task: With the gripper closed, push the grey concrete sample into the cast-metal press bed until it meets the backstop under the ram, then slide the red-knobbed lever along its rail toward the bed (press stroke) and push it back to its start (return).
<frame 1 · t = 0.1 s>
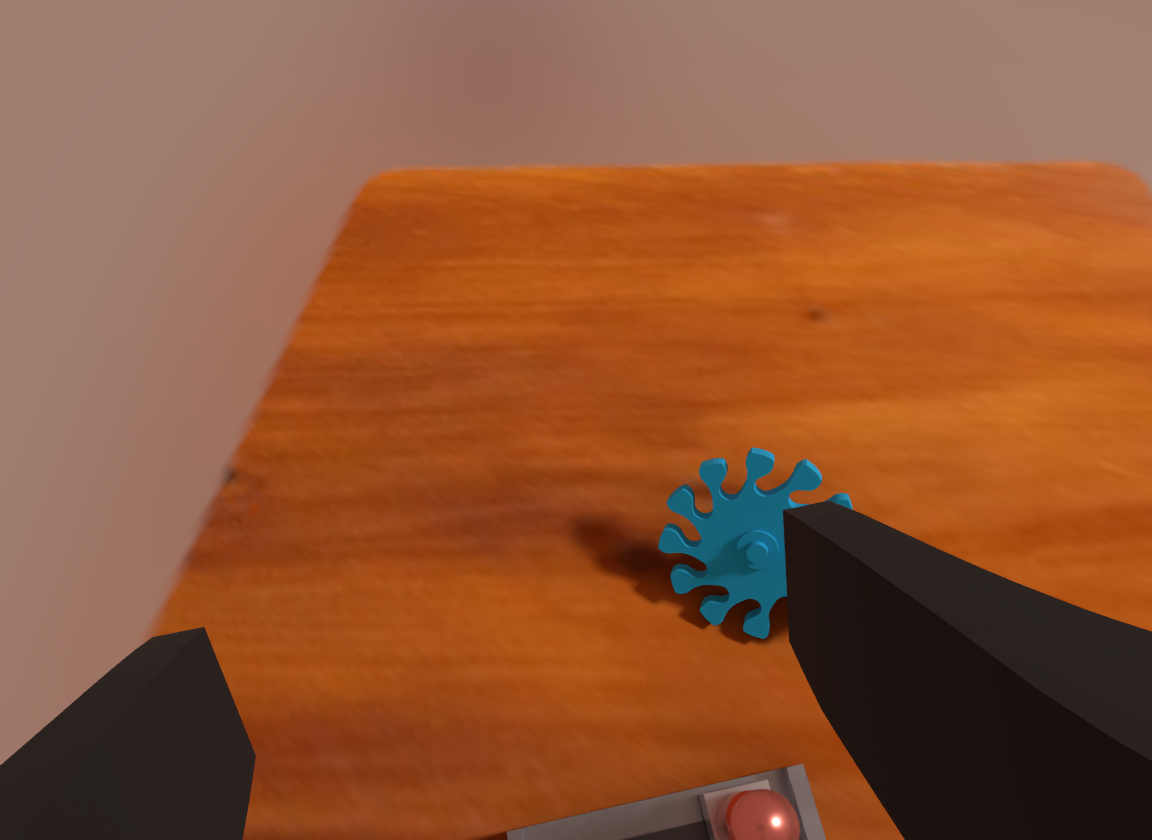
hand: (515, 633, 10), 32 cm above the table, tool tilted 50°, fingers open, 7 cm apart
lever rail: (663, 839, 37), on the table
lever: (751, 824, 34), point 4 cm above the table, slide at 0.0 cm
gear: (753, 570, 43), on the table
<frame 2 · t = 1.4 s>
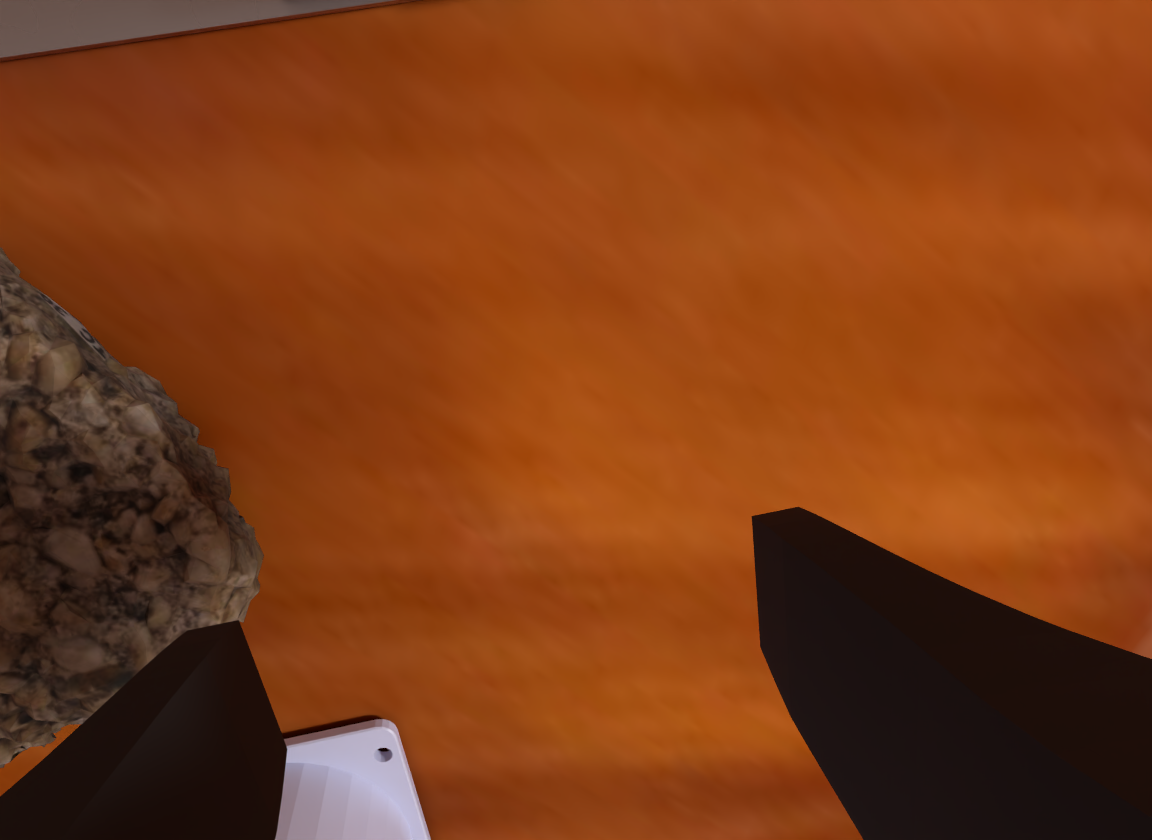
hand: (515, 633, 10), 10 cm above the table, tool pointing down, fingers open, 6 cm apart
concrete sample: (22, 439, 19), on the table
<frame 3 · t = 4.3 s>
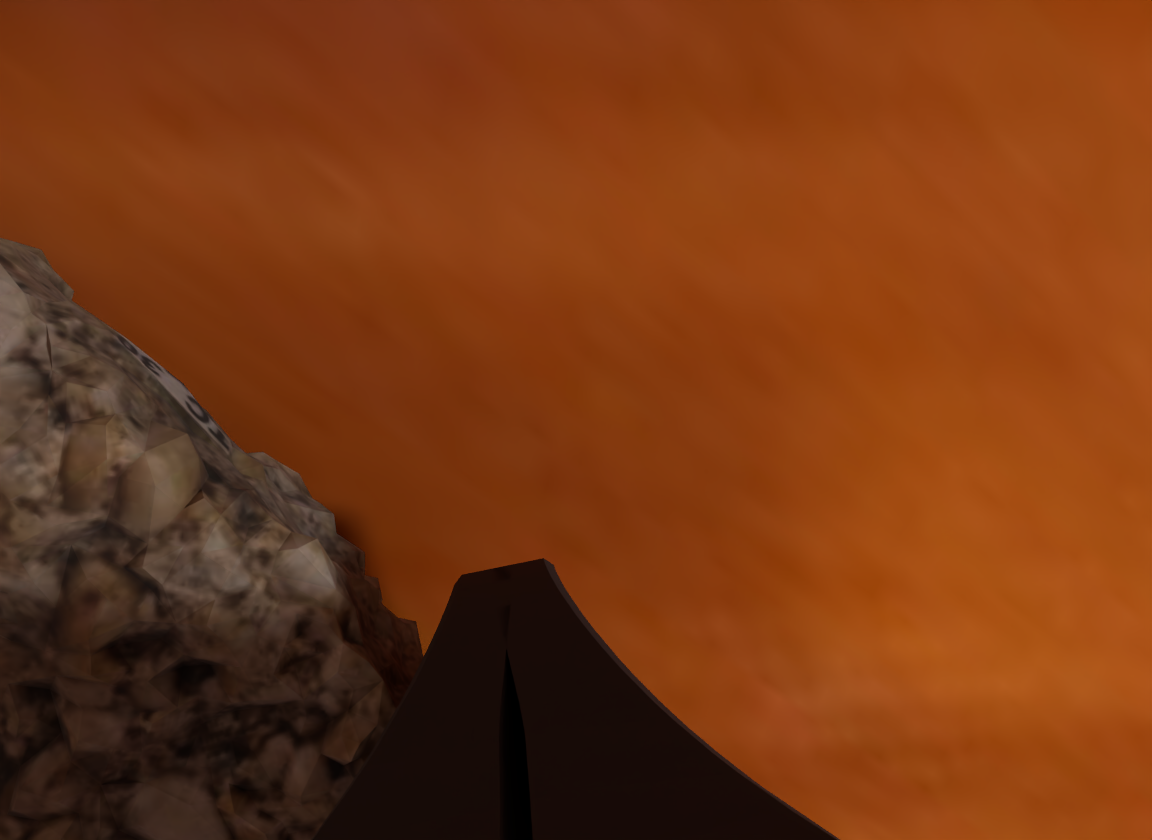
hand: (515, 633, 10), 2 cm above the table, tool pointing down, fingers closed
concrete sample: (65, 562, 12), on the table, touching gripper
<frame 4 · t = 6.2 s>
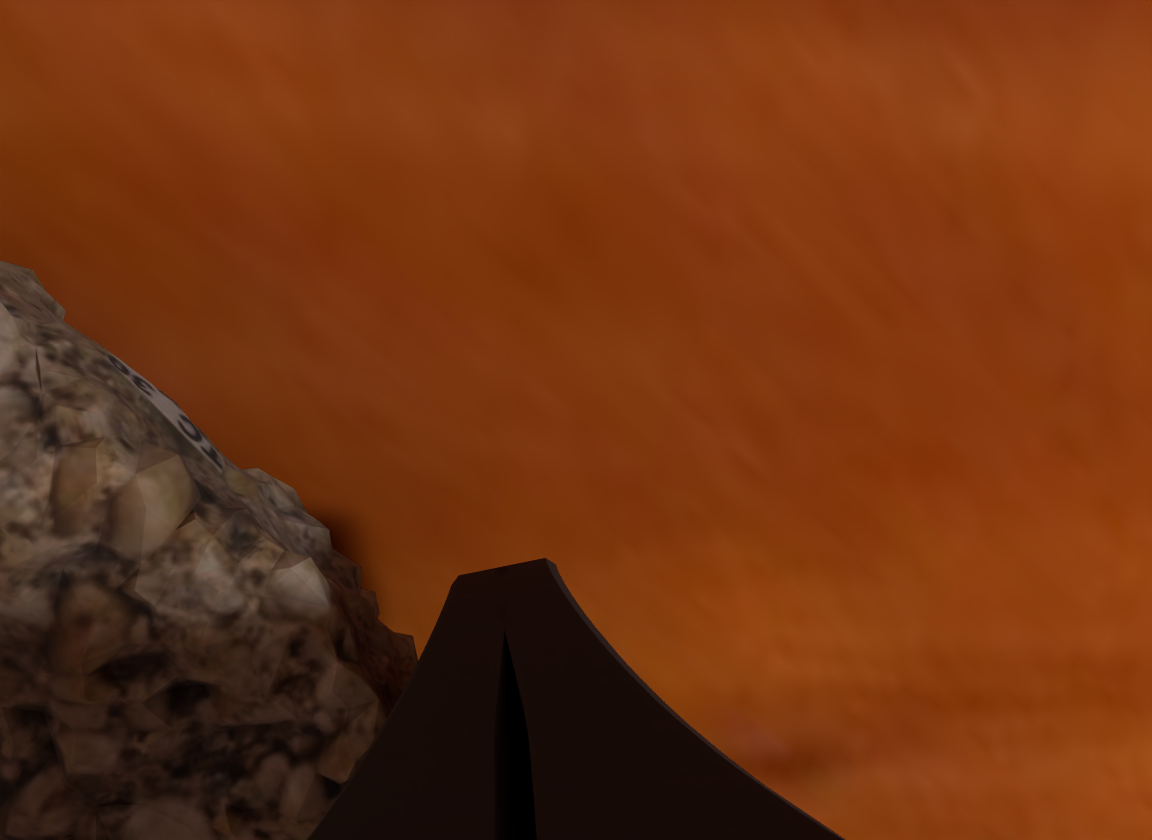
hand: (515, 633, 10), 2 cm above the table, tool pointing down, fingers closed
concrete sample: (63, 578, 12), on the table, touching gripper
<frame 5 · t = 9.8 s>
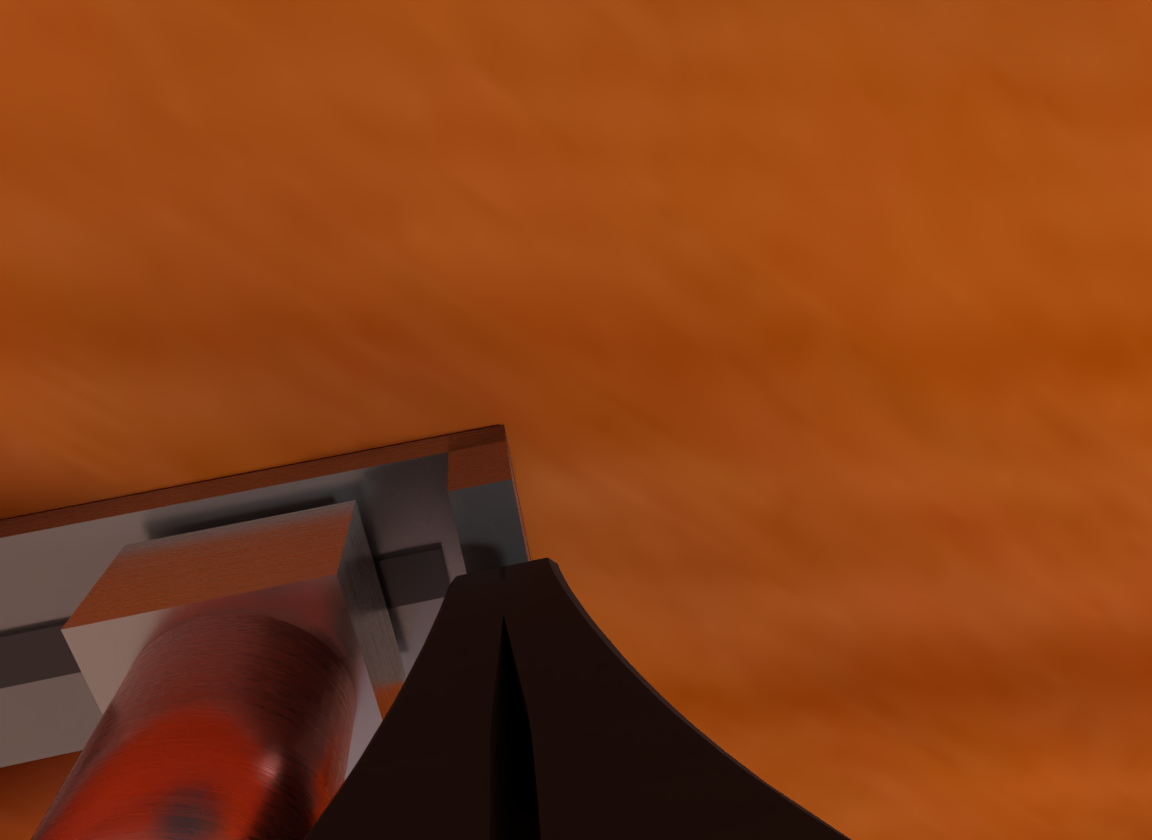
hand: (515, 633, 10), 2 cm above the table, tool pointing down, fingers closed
lever rail: (53, 626, 11), on the table
lever: (210, 795, 8), point 4 cm above the table, slide at 0.1 cm, touching gripper
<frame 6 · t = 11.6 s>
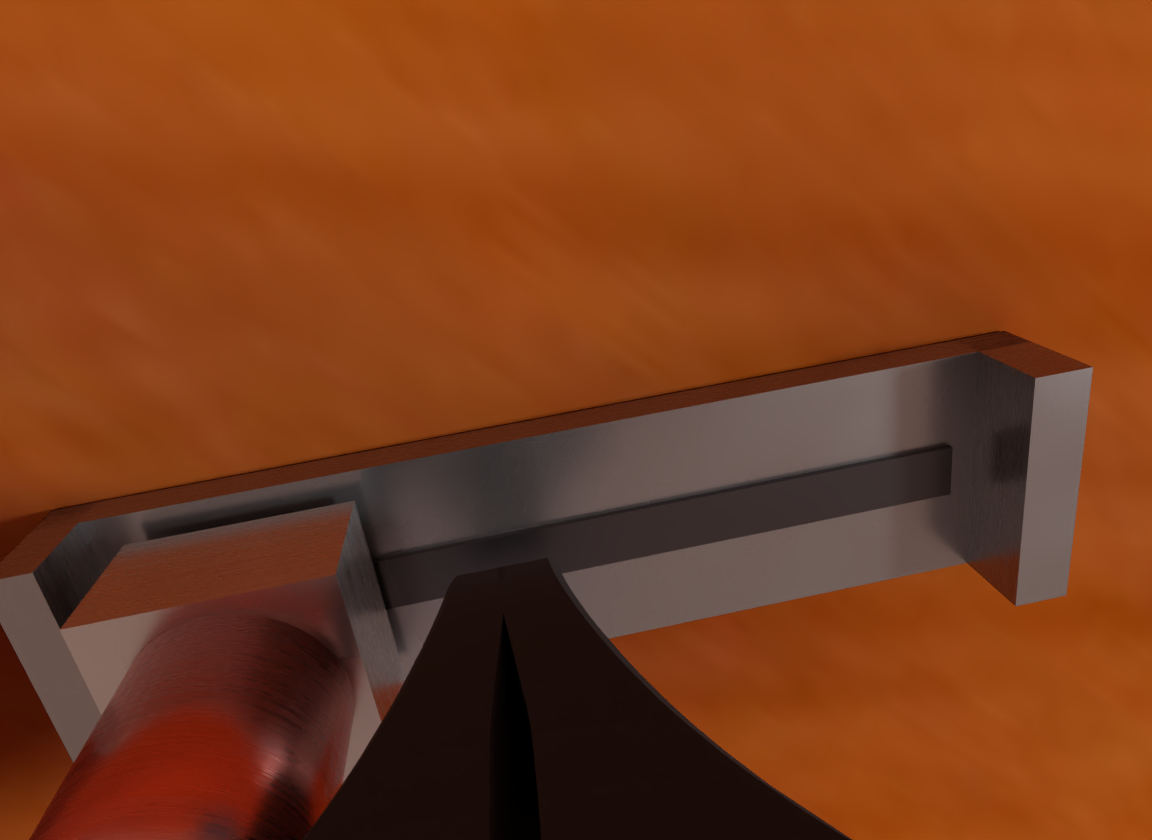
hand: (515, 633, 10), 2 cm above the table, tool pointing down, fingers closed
lever rail: (568, 523, 12), on the table
lever: (209, 795, 8), point 4 cm above the table, slide at 7.8 cm, touching gripper
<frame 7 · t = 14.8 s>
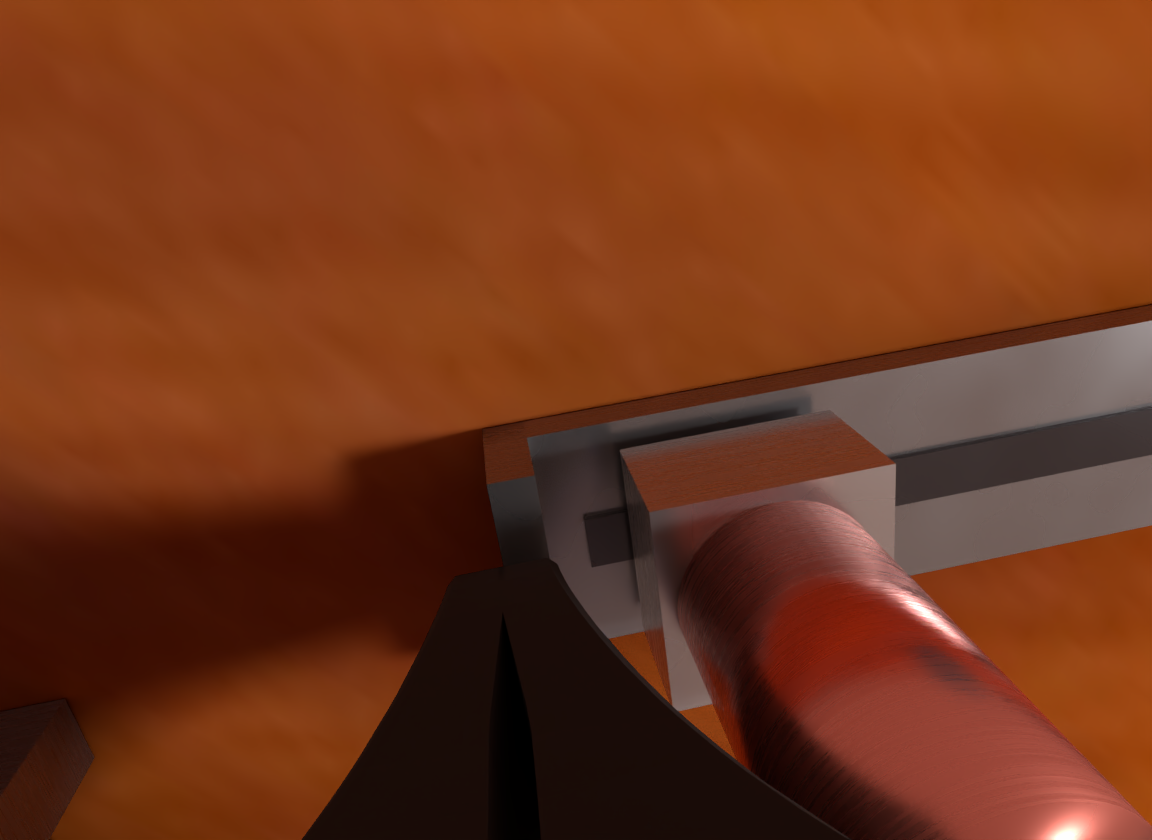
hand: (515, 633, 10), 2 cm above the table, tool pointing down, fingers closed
lever rail: (937, 451, 13), on the table
lever: (824, 661, 9), point 4 cm above the table, slide at 7.2 cm, touching gripper
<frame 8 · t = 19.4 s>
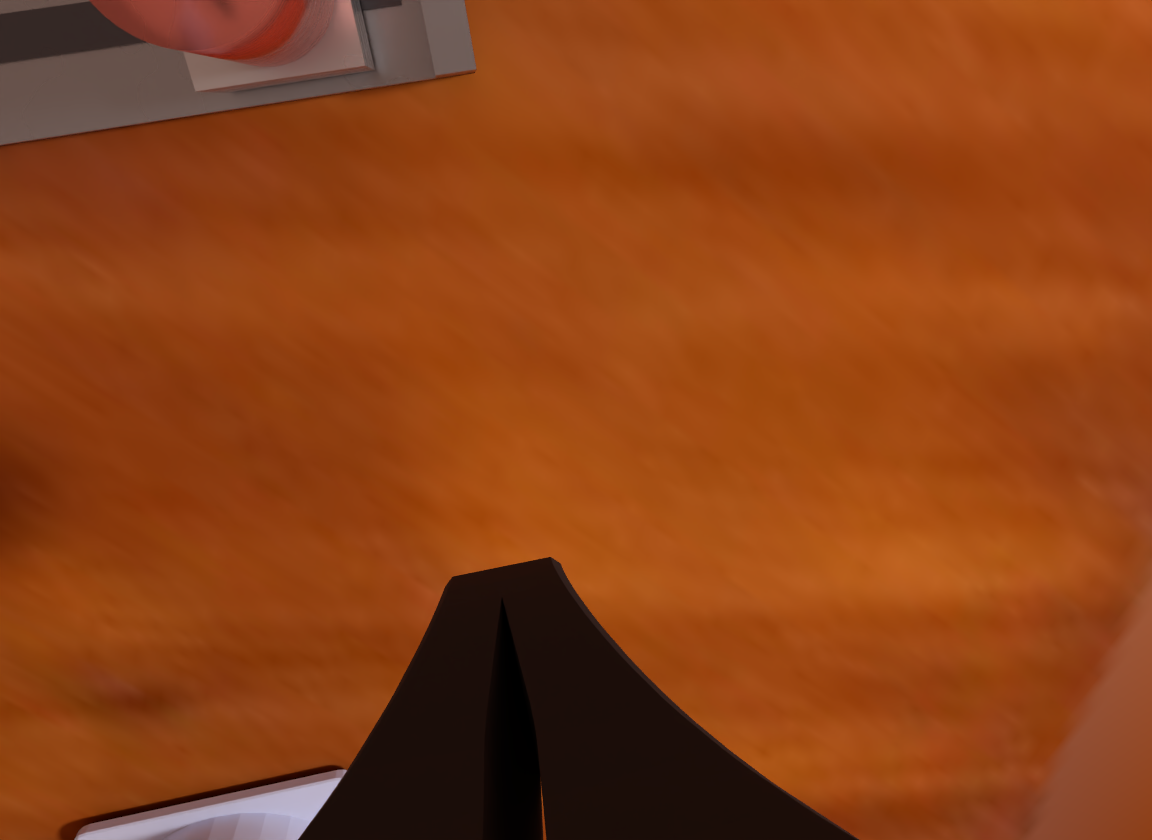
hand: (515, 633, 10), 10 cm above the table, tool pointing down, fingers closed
lever rail: (108, 28, 16), on the table
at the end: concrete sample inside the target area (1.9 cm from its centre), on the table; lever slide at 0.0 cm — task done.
